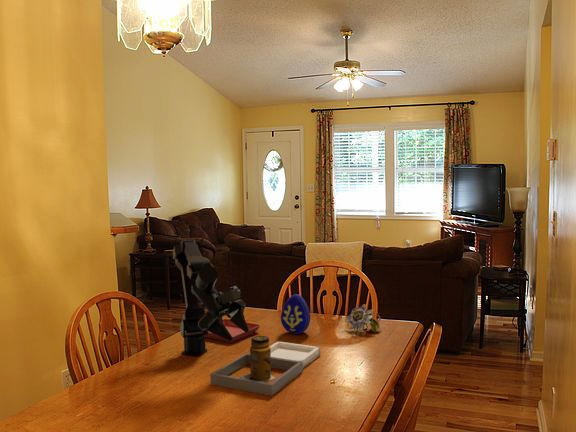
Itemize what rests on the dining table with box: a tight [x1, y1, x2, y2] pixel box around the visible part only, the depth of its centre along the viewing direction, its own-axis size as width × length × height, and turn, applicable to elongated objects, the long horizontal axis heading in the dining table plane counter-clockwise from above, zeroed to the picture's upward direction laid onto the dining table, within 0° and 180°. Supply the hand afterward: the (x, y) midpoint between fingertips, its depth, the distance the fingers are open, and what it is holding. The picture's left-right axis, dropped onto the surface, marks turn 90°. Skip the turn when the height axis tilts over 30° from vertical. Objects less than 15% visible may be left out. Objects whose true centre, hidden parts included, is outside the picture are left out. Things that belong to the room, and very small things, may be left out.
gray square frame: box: [209, 352, 304, 397], centre depth 154 cm, size 20×20×3 cm
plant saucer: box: [204, 318, 261, 343], centre depth 199 cm, size 18×18×3 cm
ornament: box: [280, 293, 311, 335], centre depth 199 cm, size 11×9×15 cm
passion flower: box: [344, 303, 382, 333], centre depth 202 cm, size 11×11×12 cm
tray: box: [269, 340, 321, 369], centre depth 171 cm, size 16×15×2 cm
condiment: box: [239, 335, 277, 382], centre depth 154 cm, size 7×8×12 cm
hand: (239, 335), depth 156 cm, fingers open, 9 cm apart
